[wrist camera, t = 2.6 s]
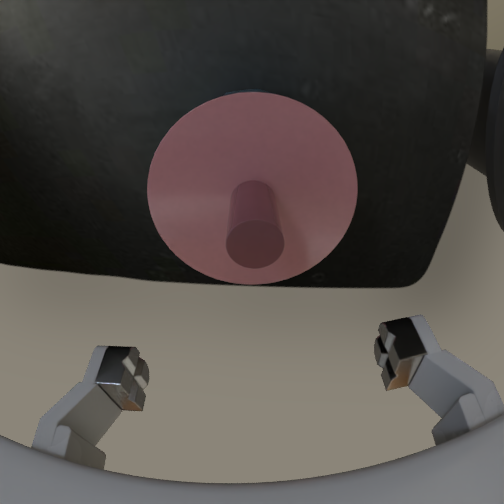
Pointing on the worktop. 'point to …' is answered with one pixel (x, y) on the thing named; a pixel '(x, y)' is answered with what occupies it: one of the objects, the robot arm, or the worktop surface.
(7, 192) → the worktop surface
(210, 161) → the cover plate
